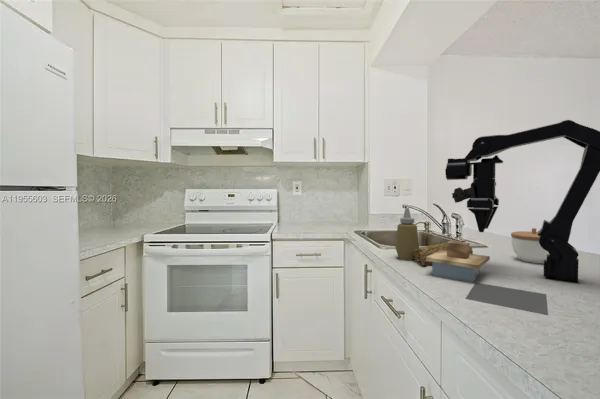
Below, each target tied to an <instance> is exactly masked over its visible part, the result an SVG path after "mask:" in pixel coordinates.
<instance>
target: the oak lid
mask: <svg viewBox="0 0 600 399" xmlns="http://www.w3.org/2000/svg"><path fill="white" fill-rule="evenodd" d="M446 243H447V251H446V250H440V251H438V252H436V253H434V254H431V255H429V256H427V257H426V261H431V262H437V263H443V264H450V265H456V266H462V267H468V268H474V269H479V270H480V268H482V267H483V266H484V265H485V264H487V263H488V262H489V261H490V259H491V256H489V255H483V254H474V253H473V254H469V246H470V243H469V242H464V241H456V240H455V241H454V240H449V241H447V242H446Z"/></svg>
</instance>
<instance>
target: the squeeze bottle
mask: <svg viewBox="0 0 600 399" xmlns="http://www.w3.org/2000/svg"><path fill="white" fill-rule="evenodd" d="M410 211H411V210H410V208H409V207H405V208H404V212H403V217H401V218H400V223H399V224H398V225H397V230H396V237H395V238H396V239H395V245H394V246H395V251H396V253H397V258H399V259H400V260H401V259H402V260H406V261H412V260H417V259H416V258H415V256H414V251H415V249H419V248H420V244H419V234H418V226H417V225H416V224H415V218H413V217H412V216H411V212H410Z"/></svg>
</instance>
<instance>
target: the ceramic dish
mask: <svg viewBox="0 0 600 399" xmlns="http://www.w3.org/2000/svg"><path fill="white" fill-rule="evenodd" d="M431 266H432V270H431V271H432V273H431V275H432V276H434V277H439V278H444V279H450V280H458V281H461V282H462V281H463V282H469V283H474V282H475V281H476V279H477V277H478V276H479V275H480V268H479V269H474V268H468V267H462V266H456V265H450V264H443V263H437V262H432V265H431Z"/></svg>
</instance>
